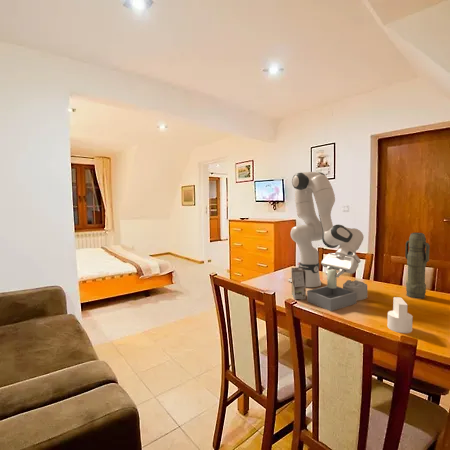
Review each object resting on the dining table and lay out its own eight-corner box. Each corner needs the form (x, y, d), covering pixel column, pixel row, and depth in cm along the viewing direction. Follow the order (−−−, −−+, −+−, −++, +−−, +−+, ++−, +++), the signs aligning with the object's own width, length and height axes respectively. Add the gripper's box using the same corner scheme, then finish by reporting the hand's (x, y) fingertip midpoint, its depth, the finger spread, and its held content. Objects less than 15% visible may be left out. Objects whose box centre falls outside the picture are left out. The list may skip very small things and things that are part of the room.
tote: (307, 301, 156) (307, 290, 156) (332, 294, 165) (332, 284, 165) (330, 311, 142) (330, 299, 142) (356, 303, 151) (356, 292, 151)
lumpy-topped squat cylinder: (370, 297, 159) (370, 282, 158) (353, 302, 154) (353, 286, 153) (354, 292, 168) (354, 277, 168) (338, 296, 163) (338, 281, 162)
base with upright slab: (385, 322, 128) (385, 296, 127) (408, 324, 125) (409, 297, 124) (390, 331, 119) (390, 303, 118) (415, 334, 117) (416, 305, 116)
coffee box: (306, 299, 159) (306, 271, 158) (294, 299, 160) (294, 271, 158) (302, 294, 168) (302, 267, 167) (291, 294, 169) (290, 267, 167)
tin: (325, 286, 154) (325, 270, 153) (331, 285, 156) (331, 269, 155) (332, 289, 150) (332, 272, 149) (338, 287, 152) (338, 270, 151)
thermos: (423, 300, 152) (426, 235, 148) (400, 294, 162) (401, 233, 158) (431, 297, 156) (434, 233, 153) (408, 291, 166) (410, 231, 163)
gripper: (326, 249, 164) (313, 268, 160) (357, 254, 146) (344, 276, 142) (332, 255, 166) (319, 275, 163) (363, 261, 148) (350, 283, 144)
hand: (331, 275), depth 152 cm, fingers closed on tin, 5 cm apart
